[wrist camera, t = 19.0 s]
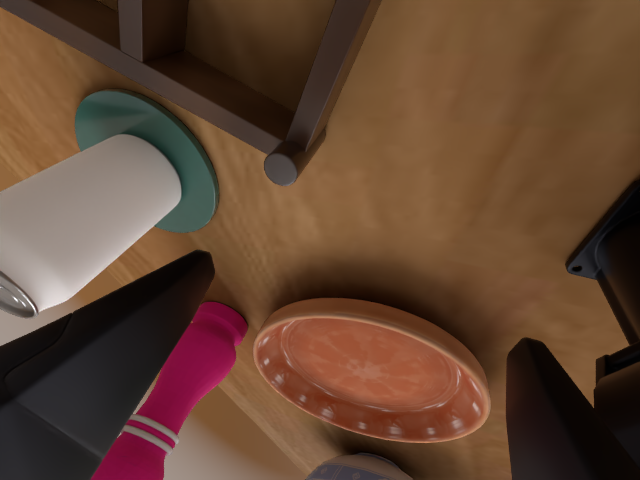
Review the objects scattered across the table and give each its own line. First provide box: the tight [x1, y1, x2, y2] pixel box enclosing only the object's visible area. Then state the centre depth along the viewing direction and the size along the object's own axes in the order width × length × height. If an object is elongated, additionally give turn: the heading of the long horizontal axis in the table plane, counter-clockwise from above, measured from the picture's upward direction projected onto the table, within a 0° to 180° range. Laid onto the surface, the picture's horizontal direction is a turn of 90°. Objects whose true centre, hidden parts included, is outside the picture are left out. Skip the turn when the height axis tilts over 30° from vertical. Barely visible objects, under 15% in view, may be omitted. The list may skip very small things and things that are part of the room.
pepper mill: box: [91, 302, 247, 480], centre depth 30 cm, size 7×7×20 cm
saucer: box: [253, 298, 491, 443], centre depth 32 cm, size 23×23×4 cm
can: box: [0, 134, 181, 319], centre depth 20 cm, size 6×6×12 cm
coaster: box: [75, 88, 219, 233], centre depth 25 cm, size 12×12×1 cm
